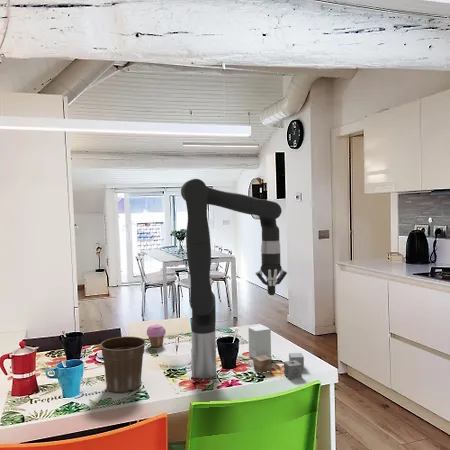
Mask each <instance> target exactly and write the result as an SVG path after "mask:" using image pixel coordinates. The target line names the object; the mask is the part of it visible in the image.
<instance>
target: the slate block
mask: <svg viewBox="0 0 450 450" xmlns="http://www.w3.org/2000/svg"><path fill="white" fill-rule="evenodd" d="M302 353H303V352H290V353H288V360H289V361H294V360H296V361H298V362H299V363H300V364H301V365H302V370H305V357H304V355H303V354H302Z"/></svg>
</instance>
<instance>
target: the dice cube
mask: <svg viewBox="0 0 450 450" xmlns="http://www.w3.org/2000/svg"><path fill="white" fill-rule="evenodd" d="M284 374H285V375H286V376H287V377H286V376H285V375H284ZM283 375H284V376H285V377H286V378H288V379H289V380H293V379H301V378H303V369H302V365H301V364H300V363H299V362H298V361H296V360H294V361H288V360H287V361H283Z"/></svg>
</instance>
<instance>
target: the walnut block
mask: <svg viewBox="0 0 450 450" xmlns="http://www.w3.org/2000/svg"><path fill="white" fill-rule="evenodd" d="M254 369H255V370H254ZM253 370H254V371H255V372H257V371H258V372H257V373H259V372H260V373H261V374H264V373H263V372H266V373H268V372H267V371H270V372H272V357H271V358H269V357H267V356H265V355H263V356H258V357H254V359H253ZM260 373H259V374H260Z"/></svg>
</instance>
